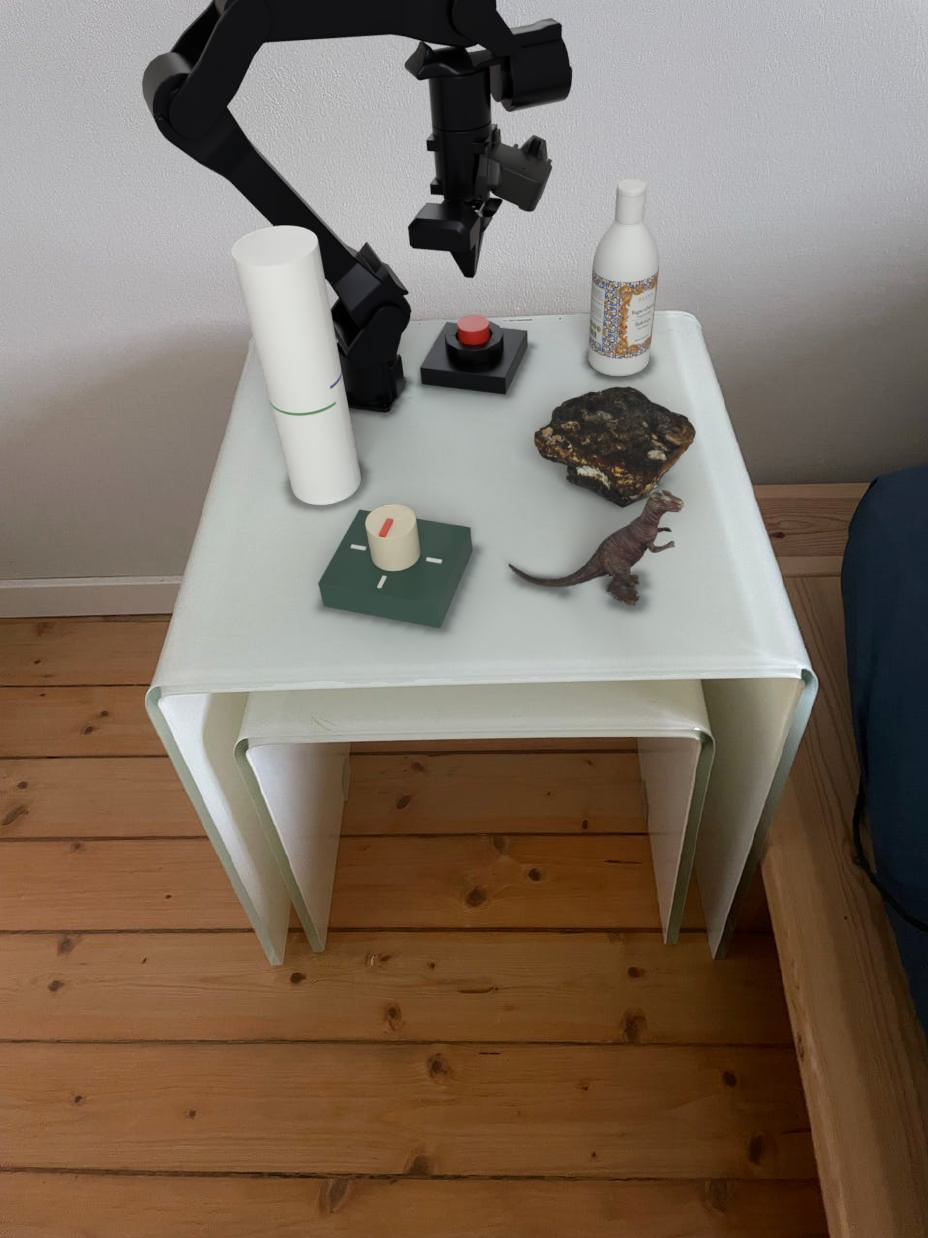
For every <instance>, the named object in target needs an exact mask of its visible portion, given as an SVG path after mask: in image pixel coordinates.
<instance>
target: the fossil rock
mask: <svg viewBox="0 0 928 1238" xmlns="http://www.w3.org/2000/svg"><path fill="white" fill-rule="evenodd" d="M696 433H697V431H696V429H695V426H694V425H693V423H692V422H691V421H690V420H689V418H688V416H686V415H684V414H681V413H678V412H675V411H671V410H670V409H668V408H667V407H665V406H663V405H661V404H658V403H656V402H653V401H652V400H650V399H649V398H648V397H647V396H646V395H645V394H644V393H643V392H642V391H640V390H639V389H637V388H635V387H632V386H612V387H609V388H605V389H602V390H601V391H588V392H586V393H583V394H581V395H579V396H575V397H572V398H569V399H567V400H564V401H562V403H561V404H560V405H559V406H556V407H555V408H554V409H553V410H552V412H551V419H550V421H549V423H547V424H546V425H544V426H542V427H539V430H537V431H535V432H534V437H533V442H534V446H535V448H537V450H538V453H539V455H540V456H541V457H542V458H543V459H545V460H547V461H550V462H551V463H556V464H561V465H564V466H565V467H566V466H567V467H566V472H567V475H566V481H567V482H568V483H569V484H572V485H576V486H578V487H581V488H584V489H586V490H588V491H591V492H593V493H594V494H596V495H598V496H600V497H602V498H603V499H605V500H606V501H608V502H609V503H611V504H614V505H616V506H618V507H620V508H621V509H622V508H626V507H628V506H630V505H632V504H635V503H636V502H639V501H642V500H645V499H648V498H649V496H650V495H651V494H652V493H653V492H652V491H654V489H657V488H658V485H659V482H661V480H662V478H663V477H664V475H665V474H666V473H668V472H669V471H670V469H671V468H672V467H673V466H674V465H675V464H676V463H677V462H678V460H679V459H680V458H681V457H682V455H684V453H685V452H686V451H688V449H689V448H690V446H691V445H692V444H693V443H694V440H695V437H696Z"/></svg>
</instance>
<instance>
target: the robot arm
mask: <svg viewBox="0 0 928 1238" xmlns="http://www.w3.org/2000/svg"><path fill="white" fill-rule="evenodd" d="M497 7H498V5H497V0H211V1H210V3H208V5H207V7H205V9H204V10H203V11H202V12H201V13H200V14H199V15H198V16H197V17H196V18H195V19H194V20H193V21H192V22H191V24H189V25H188V27H186V29H184V31H183V32H182V33H181V34H180V36H179V37H178V38H177V40H176V41H175V43H174V45H172V48H171V49H170V51H169V52H165V53H162V54H158V55H157V56H156V57H154V58H153V59H152V60H151V61H149V63H148V65H147V66H146V68H145V69H144V71H143V75H142V80H141V88H142V96H143V99H144V101H145V104H146V106H147V108H148V110H149V112H150V114H151V117H152V119H153V120H154V123H155V124H156V127H157V129H158V130H159V132H160V133H161V135H162V136H163V138H164V139H166V141H167V142H169V143H170V144H172V145H173V146H174V147H176V148H177V149H179V151H181V152H183V153H184V154H186V155H187V156H188V157H190V158H191V159H192V160H194V161H195V162H197V164H199V165H201V166H203V167H204V168H206V169H208V170H209V171H212V172H214V173H216V174H217V175H219V176H221V177H223V178H224V179H225V180H227V181H228V182H229V183H230V184H231V185H232V186H233V187H234V188H235V189H236V190H237V191H238V192H239V193H240V194H241V195H242V196H243V197H244V198H245V199H246V200H247V201H248V202H249V203H250V204H251V205H252V206H253V207H254V208H255V209H256V210H257V212H259V213H260V215H262V216H263V217H264V218H265V219H266V220H267V221H268V222H269V223H270V224H271V225H272V227H273V226H298V227H302V228H305V229H308V230H310V231H312V232H313V233H314V234H315V235H316V236H317V239H318V244H319V249H320V255H321V260H322V266H323V271H324V277H325V281H326V282H328V284H329V286H330V287H331V288H332V290H333V291H334V293H335V294H336V296H337V299H336V301H335V302H334V303H333V305H332V306H331V307H330V310H331V315H332V321H333V326H334V332H335V337H336V343H337V348H338V354H339V359H340V365H341V371H342V376H343V381H344V387H345V392H346V398H347V403H348V409H350V408H351V409H357V410H363V411H364V410H365V411H373V412H380V413H381V412H382V413H388V412H390V411H391V409H392V407H393V406H394V404H395V402H396V401H397V400H398V398H400V395H401V394H402V392H403V390H404V389H405V387H406V384H407V377H406V376H404V375H405V374H404V366H403V359H402V355H401V354H398V353H399V352H398V351H399V348H400V343H401V339H402V334H403V333H405V331H406V330H407V328H408V326H409V323H410V321H411V314H412V307H411V304H410V303H409V302H408V300H407V298H406V297H405V296H407V295H409V293H410V292H409V290H408V289H407V287H406V286H405V285H404V284H403V282H402V281H401V280H400V278H399V277H398V275H397V274H396V272H394V270H393V269H392V267H391V266H390V264H388V263H386V262H384V261H382V259H381V258H380V257H379V256H378V254H377V253H376V252H375V250H374V249H373V248H372V246H371V244H370V243H369V242H368V241H365V242H364V244H363V245H362V247H361V248H360V249H359V250H356V249H354V248H353V247H351V246H349V245H348V244H346V243H345V242H344V241H343V240H342V239H341V238H340V236H339V235H337V233H335V231H334V230H333V229H332V228H331V226H329V224H327V223H326V221H325V220H324V219H323V218H322V217H321V216H320V215H319V214H318V213H317V212H316V210H314V208H312V206H311V205H310V204H309V203H308V202H307V201H306V200H305V199H304V198H303V196H302V195H301V194H300V193H299V192H298V191H297V190H296V189H295V188H294V187H293V185H291V183H290V182H289V181H288V180H287V179H286V178H285V177H284V176H283V174H282V173H280V172H279V171H278V169H277V168H276V167H275V166H274V165H273V164H272V163H271V162H270V161H269V160H268V158H266V156H265V155H264V154H263V153H262V151H260V150H259V149H258V148H257V146H255V144H254V143H253V142H252V141H251V140H250V139H249V138H248V137H247V135H246V133H245V132H244V130H243V129H242V127H241V125H240V124H239V123H238V121H237V119H236V118H235V117H234V115H233V113H232V112H231V110H230V108H229V107H228V106H229V104H230V103H231V102H232V100H233V99H234V97H235V96H237V94H238V92H239V89H240V87H241V85H242V83H243V81H244V80H245V77H246V74H247V73H248V71H249V68H250V66H251V64H252V62H253V60H254V58H255V56H256V54H258V52H259V50H260V49H261V47H262V46H263V45H264V44H266V43H282V42H283V43H284V42H296V41H297V42H298V41H299V42H300V41H314V40H329V39H344V38H345V39H346V38H361V37H363V38H364V37H375V36H376V37H377V36H378V37H379V36H397V37H404V38H408V39H413V40H416V41H419V42H418V44H417V46H416V49H415V50H414V51H413V53H412V54H411V55H410V56H409V57H408V59H407V60H406V61H405V62H404V66H403V67H404V69H405V70H406V71H407V72H408V73H409V74H410V75H411V76H413V77H414V78H415V79H416V80H417V81H425V80H427V81H428V92H429V104H430V117H431V131H432V132H431V133H430V134H429V136H427V139H426V140H425V143H426V151H427V152H433V158H434V171H435V177H434V178H433V179H432V181H431V182H430V184H429V190H430V196H431V195H432V196H443V200H442V201H441V203H437V202H426V203H425V204H424V205H423V206H422V207H421V208H420V209H419V211H418V212H417V213H416V215H415V216H414V217H413V219H412V220H411V222H410V223H409V224H408V225H407V232H408V242H409V246H410V247H411V248H412V249H415V250H425V251H436V252H447V253H448V252H449V254H450V255H451V257H452V259H453V260H454V263H456V265H457V267H458V268H459V270H460V272H461V274H462V276H463V277H464V278H467V279H473V278H475V276H476V274H477V271H478V266H479V260H480V255H481V251H482V246H483V240H484V235H485V231H486V230H487V229H488V227H489V225H490V224H491V222H492V221H493V218H494V216H495V215H496V214H497V212H498V211H499V209H500V207H501V205H502V204H503V200H504V201H506V202H508V203H511V204H512V205H515V206H517V207H518V209H519V210H520V211H524V212H527V213H531V212H534V211H535V210H536V209H537V206H538V204H539V202H540V201H541V199H542V197H543V194H544V193H545V192H544V191H545V189H546V187H547V184H548V181H549V178H550V175H551V173H552V170H553V166H552V161H553V159H551V158H549V157H548V149H547V148H548V147H547V140H546V139H544V138H542V137H539V136H538V135H535V134H533V135H531V136H530V137H529V138H528V139H527V140H525V142H524V143H523V144H522V145H521V146H520V147H519V144H518V143H514V144H513V146H511V145H509V144H506V143H503V142H502V131H501V128H498V127H499V126H498V125H499V124H498V123H492V121H493V119H492V118H493V117H492V99H493V101H494V102H495V103H500V104H501V106H502V107H503V109H504V110H505V111H506V112H508V113H513V112H518V111H522V110H528V109H532V108H536V107H542V106H545V105H551V104H555V103H560V102H563V101H565V100H567V98H568V97H569V95H570V93H571V89H572V83H573V68H572V65H571V64H570V62H571V61H570V56H569V53H568V48H567V45H566V42H565V41H564V39H563V24H562V23H561V22H559V21H557V20H556V19H554V18H552V17H549V18H543V19H540V20H538V21H536V22H533V23H531V24H525V25H521V26H515V27H509V25H508V24H507V23H506V21H505V20H504V18H503V17H502V16H501V14H500V13H499V11H498V10H497ZM429 44H432V45H438V46H444V47H439V48H435V49H433V48H432V47H431V46H430V45H429ZM476 46H480V47H482V48H483V49H480V50H474V51H468V50H467V49H470V48H473V47H476ZM491 194H492V195H494V196H495V197H491Z"/></svg>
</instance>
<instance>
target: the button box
mask: <svg viewBox="0 0 928 1238" xmlns="http://www.w3.org/2000/svg"><path fill="white" fill-rule="evenodd" d="M457 323H458V322H449V321H446V322H445V323H444V325H443V327H442V329H441V330H440V333H439V334H438V335H437V338H436V339H435V341H434V343H433V344H432V346H431V348H430V350H429V352H428V353H427V354H426V356H425V358H424V360H423V362H422V364H421V365H420V367H419V370H420V371H419V372H420V380H421V381H420V382H421V385H425V386H432V387H433V386H435V387H441V388H450V389H458V390H467V391H474V392H483V393H491V394H498V395H499V394H500V395H507V392H508V390H509V388H510V386H511V384H512V382H513V380H514V378H515V375H516V374H517V371H518V369H519V367H520V364H521V362H522V360H523V357H524V356H525V353H526V351H527V349H528V347H529V346H528V341H529V340H528V339H529V338H528V337H529V336H528V330H527V329H516V328H508V327H501V326H500V325H499V324H496V323H495V322H493V321H490V320H489V329H490V338H489V340H488V341H486V342H484V343H482V344H476V345H469V344H463V343H461V342H460V341H459V339H458V328H457Z"/></svg>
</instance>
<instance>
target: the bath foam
mask: <svg viewBox="0 0 928 1238" xmlns="http://www.w3.org/2000/svg"><path fill="white" fill-rule="evenodd" d="M646 198H647V183H646V182H645V181H644V180H642V179H637V178H627V179H622V180H621V181H619V182H618V183H617V184H616V194H615V211H614V213H615V214H614V220H613V221H612V223H611V224H610V225H609V227H608V228H607V229H606V231H605V232H604V233H603V235H602V237H601V238H600V240H599V242H598V244H597V246H596V249H595V252H594V255H593V259H592V260H593V261H592V268H591V269H592V270H591V288H590V289H591V290H590V311H589V312H590V313H589V330H588V331H589V334H588V362H589V364H590V366H591V368H593V369H594V370H595V371H596V372H598V373H600V374H603V375H605V376H611V377H628V376H632V375H636V374H637V373H639V372H641V371H643V370H644V369H645V368H646V367H647V365H648V364H649V361H650V356H651V345H652V338H653V328H654V319H655V318H654V317H655V309H656V300H657V291H658V282H659V271H660V256H659V249H658V245H657V242H656V240H655V237H654V236H653V234H652V232H651V230H650V228H649V226H648V225H647V223H646V221H645V220H644V219H645V212H646V211H645V210H646V200H647V199H646Z"/></svg>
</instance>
